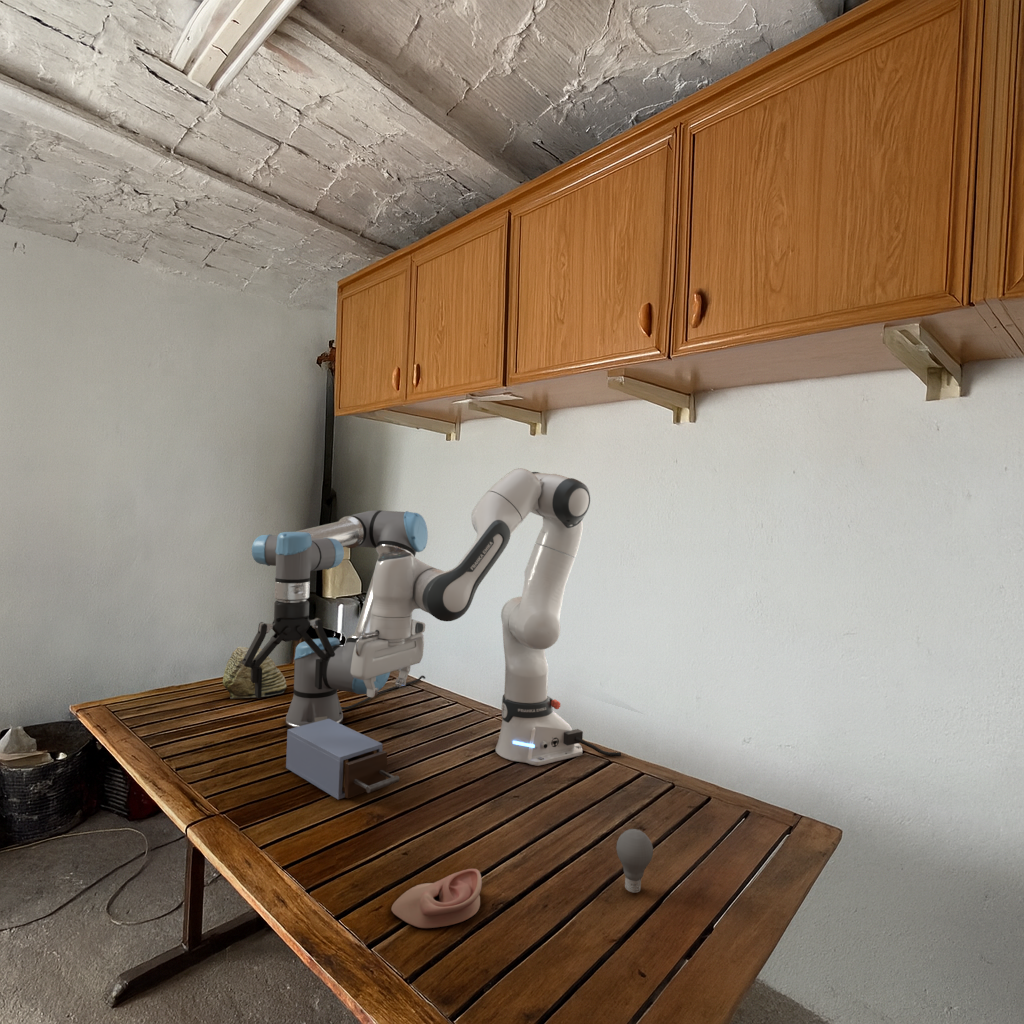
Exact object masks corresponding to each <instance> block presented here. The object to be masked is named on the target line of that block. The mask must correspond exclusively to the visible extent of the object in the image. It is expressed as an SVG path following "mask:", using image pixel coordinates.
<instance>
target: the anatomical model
mask: <svg viewBox="0 0 1024 1024" xmlns="http://www.w3.org/2000/svg"><path fill="white" fill-rule="evenodd" d="M482 879H483V878H482V874H481V871H480V870H478V869H477V868H467V869H463V870H460V871H457V872H454V873H452V874H449V875H446V876H445V877H443V878H441V879H439V880H437V881H434V882H426V883H420V884H417V885H414V886H413V887H411V888H409V889H408V890H406V891H404V893H402V894H401V895H399V897H398V898H397V899H396V900H395V901H394V902H393V904H392V906H391V912H392V914H393V915H395V917H397V918H399V919H400V920H402V921H403V922H404V923H407V924H409V925H411V926H413V927H415V928H418V929H432V928H433V929H435V928H440V927H441V928H442V927H447V926H452V925H457V924H459V923H462V922H464V921H466V920H469V919H470V918H472V917H473V916H474V915H476V914H477V913H478V911H480V910H479V909H480V907H481V896H480V895H481V891H482V886H483V880H482Z"/></svg>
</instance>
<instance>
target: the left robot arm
mask: <svg viewBox="0 0 1024 1024" xmlns="http://www.w3.org/2000/svg"><path fill="white" fill-rule="evenodd" d="M428 533H429V532H428V526H427V522H426V520H425V519H424V517H423V515H421V514H420V513H418V512H412V511H409V510H407V511H397V510H396V511H395V510H381V509H380V510H379V509H376V510H375V509H374V510H367V511H363V512H359V513H354V514H350V515H345V516H343V517H341V518H340V519H339V520H338V521H335V522H331V523H325V524H322V525H318V526H313V527H308V528H305V529H300V530H296V531H283V532H280V533H278V534H277V535H275V534H270V533H269V534H262V535H258V536H257V537H256V538H255V539H254V541H253V543H252V545H251V556H252V559H253V560H254V562H256V563H257V564H258V565H259V564H260V565H265V566H267V567H270V566H272V567H273V566H274V567H275V578H274V579H275V580H274V581H275V582H274V599H275V601H274V604H273V605H274V606H273V607H274V608H273V620H272V622H271V623H264V622H263V621H260V622H259V623H258V628H257V632H256V634H255V636H254V638H253V640H252V642H251V644H250V646H249V647H248V648H249V649H248V651H247V653H246V655H245V657H244V659H243V661H242V664H243V665H244V666H245V667H250V668H251V682H252V683H255V696H256V697H255V698H257V699H262V697H261V694H262V668H261V667H260V665H261V664H262V663H263V662H264V660H265V659H266V658H267V657H268V656H269V657H270V655H271V654H272V652H273V651H274V650H275V649H276V647H278V645H280V644H281V643H282V642H286V643H288V642H291V641H295V642H297V641H300V640H301V639H302V640H303V641H302V642H299V643H298V644H297V645H296V647H295V652H294V653H295V654H294V658H293V660H294V670H293V671H294V672H293V695H292V696H293V697H292V699H291V702H290V704H289V708H288V711H287V713H286V715H285V726H286V728H287V729H291V728H295V727H299V726H303V725H307V724H310V723H314V722H318V721H322V720H326V719H331V720H333V721H335V722H337V723H339V724H342V723H343V722H344V714H343V710H349V709H352V708H355V707H357V706H359V705H361V704H364V703H366V702H367V701H369V700H372V698H371V697H368V696H367V698H365V699H363V700H360V701H358V702H356V703H354V704H351V705H348V706H341V702H340V699H339V695H338V691H341V692H347V693H355V694H357V695H367V688H366V686H365V683H364V681H363V680H361V679H356V678H353V677H352V675H351V663H352V656H353V651H354V648H355V645H356V641H357V640H358V639H359V637H361V635H362V634H363V633H369V632H370V616H371V609H372V606H373V596H372V585H373V576H374V572H373V573H372V577H371V580H370V583H369V585H368V589H367V592H366V596H365V599H364V601H363V605H362V608H361V611H360V614H359V618H358V620H357V624H356V627H355V630H354V632H353V634H351V635H349V636H347V638H346V640H345V644H344V646H343V645H340V644H341V641H340V640H339V638H337V637H328V636H327V634H326V632H325V629H324V624H323V619H321V618H319V617H315V618H314V619H310V617H309V616H310V601H309V600H308V599H309V598H310V589H311V588H310V585H311V572H314V571H315V572H316V571H323V570H330V569H335V568H336V567H338V566H339V565H341V564H342V562H343V559H344V557H345V550H344V548H347V549H354V548H371V549H375V551H376V553H377V554H378V557H377V560H378V559H379V558H380V557H381V556H383V555H385V554H388V553H394V552H408V553H411V554H412V555H413V556H414V557H415V558H416V554H417V553H421V552H423V551H424V550H425V549H426V548H427V545H428V539H429V538H428V537H429V534H428ZM310 627H311V628H312V629H314V630H315V633H316V635H317V636H318V638H313V639H312V637H311V636H310V635H309V634H308V633H307V632H308V630H309V628H310ZM271 630H272V632H274V633H273V634H272V636H271V637H270V639H269V641H267V643H266V644H265V645H264V646H263V647H262V648H261V646H262V644H263V642H264V641H265V638H266V636H267V634H269V633H270V631H271ZM361 639H362V638H361ZM259 648H261V649H262V650H261V651H260V652H259V654H258V655H257V656H256V657H255V655H256V653H257V651H258V650H259ZM254 657H255V658H254ZM253 659H254V660H253ZM390 675H391V672H389V673H386V674H382V675H379V676H376V681H375V682H374V685H375V688H378V692H377V693H378V695H377V696H379V695H382V694H384V693H386V692H390V691H393V690H395V689H398V688H400V687H396V685H395V686H392V687H389V688H386V689H383V688H384V686H385V685H386V683H387V682H388V680H389V678H390ZM422 679H423V680H424V679H426V676H425V675H420V676H419V677H418V678H417V679H415V680H411V681H408V682H406V685H405V686H408V685H413V684H415V683H417V682H420V681H421V680H422ZM382 689H383V690H382ZM380 690H381V691H380Z"/></svg>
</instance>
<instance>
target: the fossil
mask: <svg viewBox="0 0 1024 1024" xmlns="http://www.w3.org/2000/svg"><path fill="white" fill-rule="evenodd" d="M249 648H250V647H247V646H246V647H245V646H238V647H237V648H236V649H235V650H233V651H232V653H231V656H230V657H229V659H228V660H227V663H226V666H225V668H224V671H223V675H222V676H223V677H222V685H223V687H224V688H225V690H226V691H228V693H229V698H230V699H250V698H257V697H256V696H255V683H252V682H251V668H250V667H245V666H244V665H243V664H242V661H243V659H244V657H245V655H246V653H247V651H248V649H249ZM262 649H263V648H261V647H260V648H259V650H258V651H257V653H256V655H255V657H256V656H257V655H258V654H259V652H260V651H261V650H262ZM255 657H254V658H255ZM253 660H254V659H253ZM260 667H261V668H262V694H261V698H264V697H271V696H275V695H281V694H284V693H285V691H286V689H287V687H288V686H287V680H286V678H285V676H284V674H283V673H282V672H281V669H279V668H278V667H277V665H276V663H275V662H274V660H273V659H272V658H271V657H270V655H269V656H268V657H267V658H266V659H265V660H264V662H263V663H262V664H261V665H260Z"/></svg>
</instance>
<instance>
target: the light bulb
mask: <svg viewBox="0 0 1024 1024" xmlns="http://www.w3.org/2000/svg"><path fill="white" fill-rule="evenodd" d="M615 849H616V854H617V857H618V859H619V861H620V863H621V865H622V867H623V873H624V874H623V875H624V876H625V878H624V888H625V890H627V891H628V892H630V893H634V894H635V893H639V892H640V891H641V889H642V887H641V886H642V879H643V877H644V875H645V871H646V868H647V867H648V866H649V864H650V863H651V861H652V859H653V855H654V847H653V843H652V841H651V838H649V836H648V835H647V834H646V833H645V832H643V831H642V830H641V829H636V828H629V829H627V830H625V831H623V832H622V833H621V834H620V835H619V837H618V839H617V841H616V847H615Z"/></svg>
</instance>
